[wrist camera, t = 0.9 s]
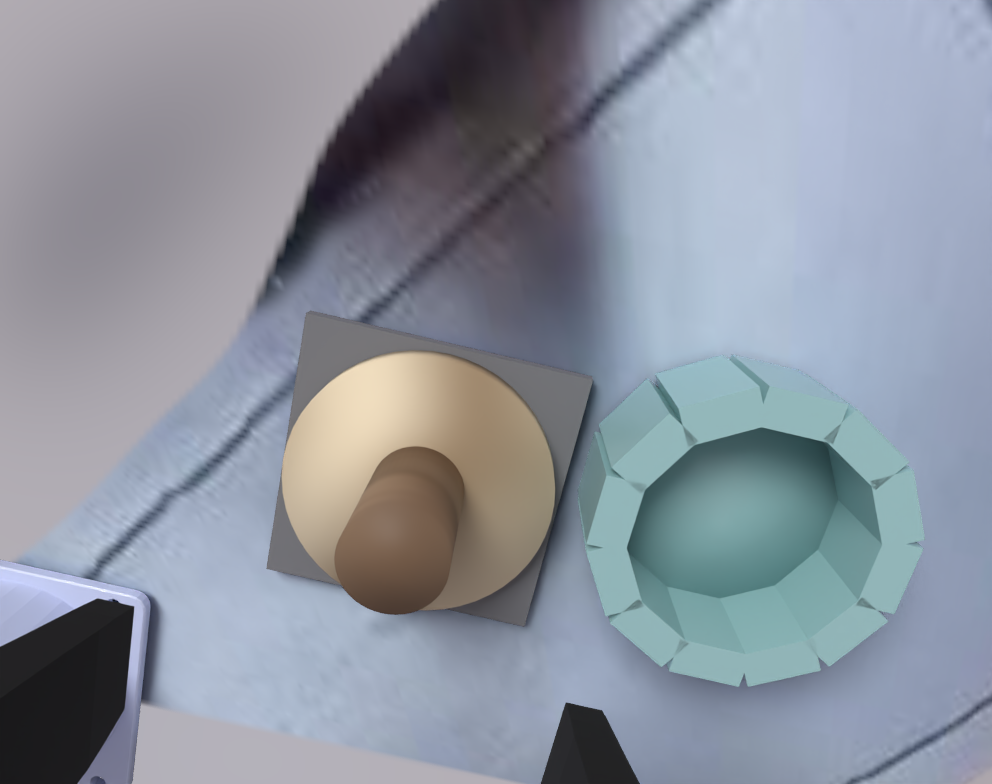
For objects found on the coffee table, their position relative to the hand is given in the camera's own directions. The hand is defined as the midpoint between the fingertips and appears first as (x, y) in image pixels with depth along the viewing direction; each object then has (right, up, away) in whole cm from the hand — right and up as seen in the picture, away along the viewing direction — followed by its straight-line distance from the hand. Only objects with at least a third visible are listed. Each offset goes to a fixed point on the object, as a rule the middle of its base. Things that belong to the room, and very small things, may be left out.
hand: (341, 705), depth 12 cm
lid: (0, +3, +9) cm, 9 cm away
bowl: (+9, +2, +9) cm, 13 cm away
